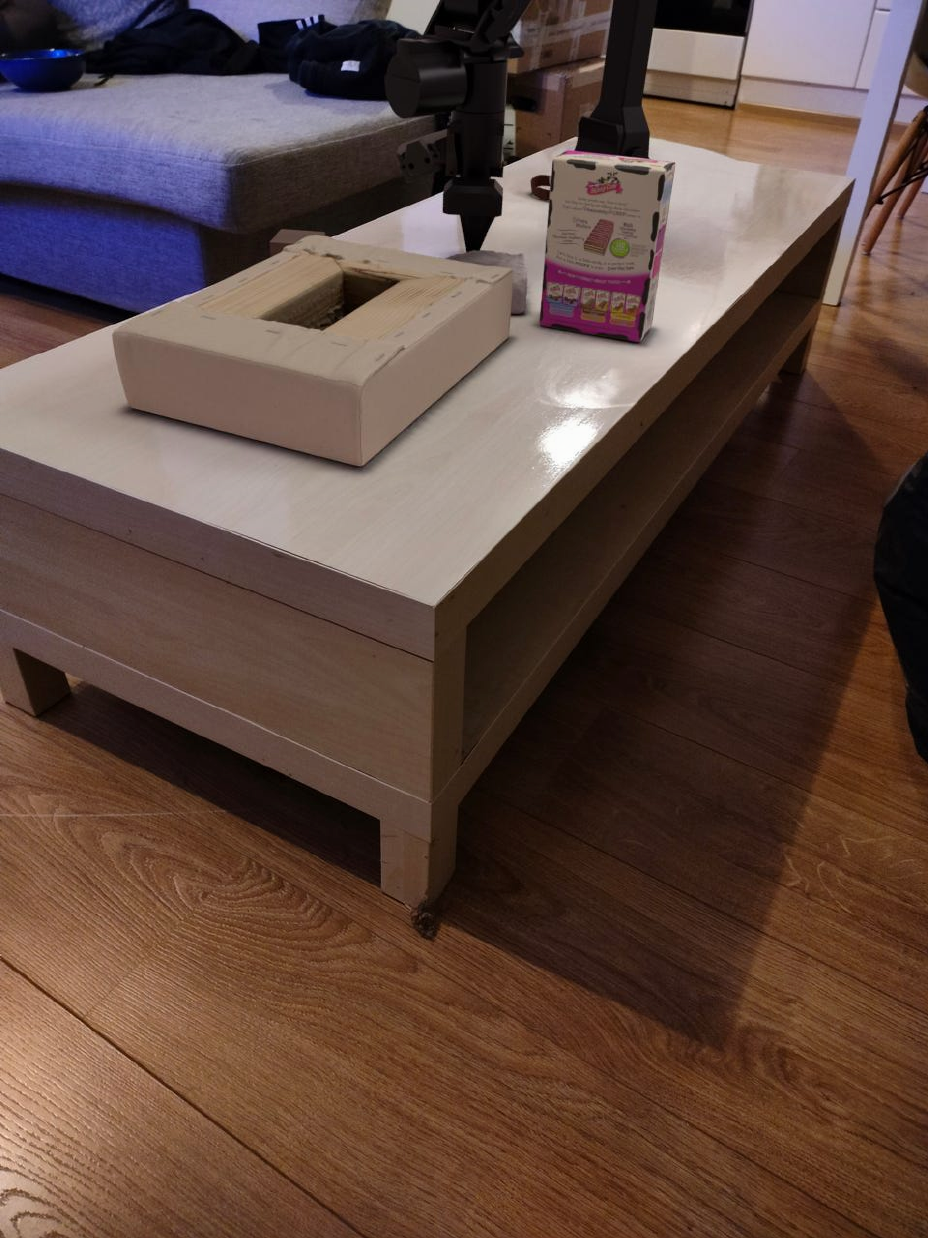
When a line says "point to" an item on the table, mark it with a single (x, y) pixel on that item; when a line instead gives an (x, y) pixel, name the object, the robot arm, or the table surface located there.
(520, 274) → the stone block
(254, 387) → the box
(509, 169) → the table surface
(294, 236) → the walnut cube
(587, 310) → the candy bar box
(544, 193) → the watch
